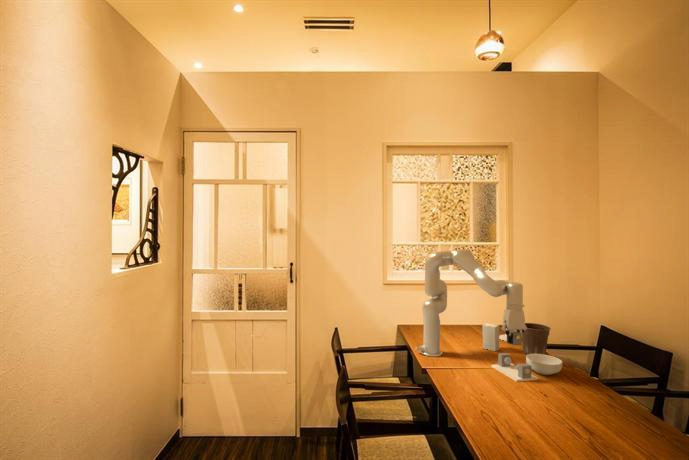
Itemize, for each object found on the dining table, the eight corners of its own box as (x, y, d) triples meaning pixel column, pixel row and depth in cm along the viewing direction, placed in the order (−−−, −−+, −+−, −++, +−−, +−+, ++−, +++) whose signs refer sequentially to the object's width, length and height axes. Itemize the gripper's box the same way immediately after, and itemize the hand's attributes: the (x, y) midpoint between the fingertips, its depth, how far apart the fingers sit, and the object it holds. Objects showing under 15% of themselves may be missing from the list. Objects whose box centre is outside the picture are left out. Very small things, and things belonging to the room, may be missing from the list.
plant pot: (543, 349, 234) (543, 323, 234) (555, 358, 218) (555, 330, 218) (515, 348, 236) (515, 322, 236) (525, 357, 220) (525, 329, 220)
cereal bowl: (567, 380, 188) (567, 365, 188) (530, 377, 192) (530, 362, 191) (555, 367, 205) (555, 354, 205) (522, 364, 208) (522, 351, 208)
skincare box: (499, 349, 233) (500, 325, 233) (495, 351, 229) (495, 327, 229) (486, 346, 239) (486, 322, 239) (481, 348, 235) (482, 324, 235)
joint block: (506, 342, 199) (506, 330, 199) (513, 341, 200) (513, 329, 200) (514, 345, 193) (514, 333, 193) (522, 345, 194) (522, 333, 194)
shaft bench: (516, 381, 185) (516, 367, 185) (491, 366, 205) (491, 353, 205) (538, 379, 188) (538, 365, 188) (511, 365, 208) (511, 352, 207)
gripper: (523, 304, 202) (523, 339, 202) (495, 306, 198) (494, 341, 198) (534, 308, 194) (533, 344, 195) (504, 309, 191) (504, 346, 191)
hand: (514, 342), depth 196 cm, fingers closed on joint block, 4 cm apart
